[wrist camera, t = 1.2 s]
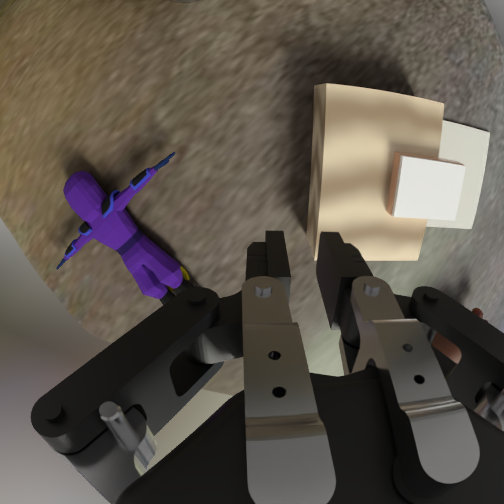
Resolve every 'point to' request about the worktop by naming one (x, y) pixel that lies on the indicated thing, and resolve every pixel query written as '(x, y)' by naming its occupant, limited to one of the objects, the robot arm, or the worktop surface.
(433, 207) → the tile
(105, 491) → the robot arm
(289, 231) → the worktop surface
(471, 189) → the mat
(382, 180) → the block
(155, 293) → the toy
